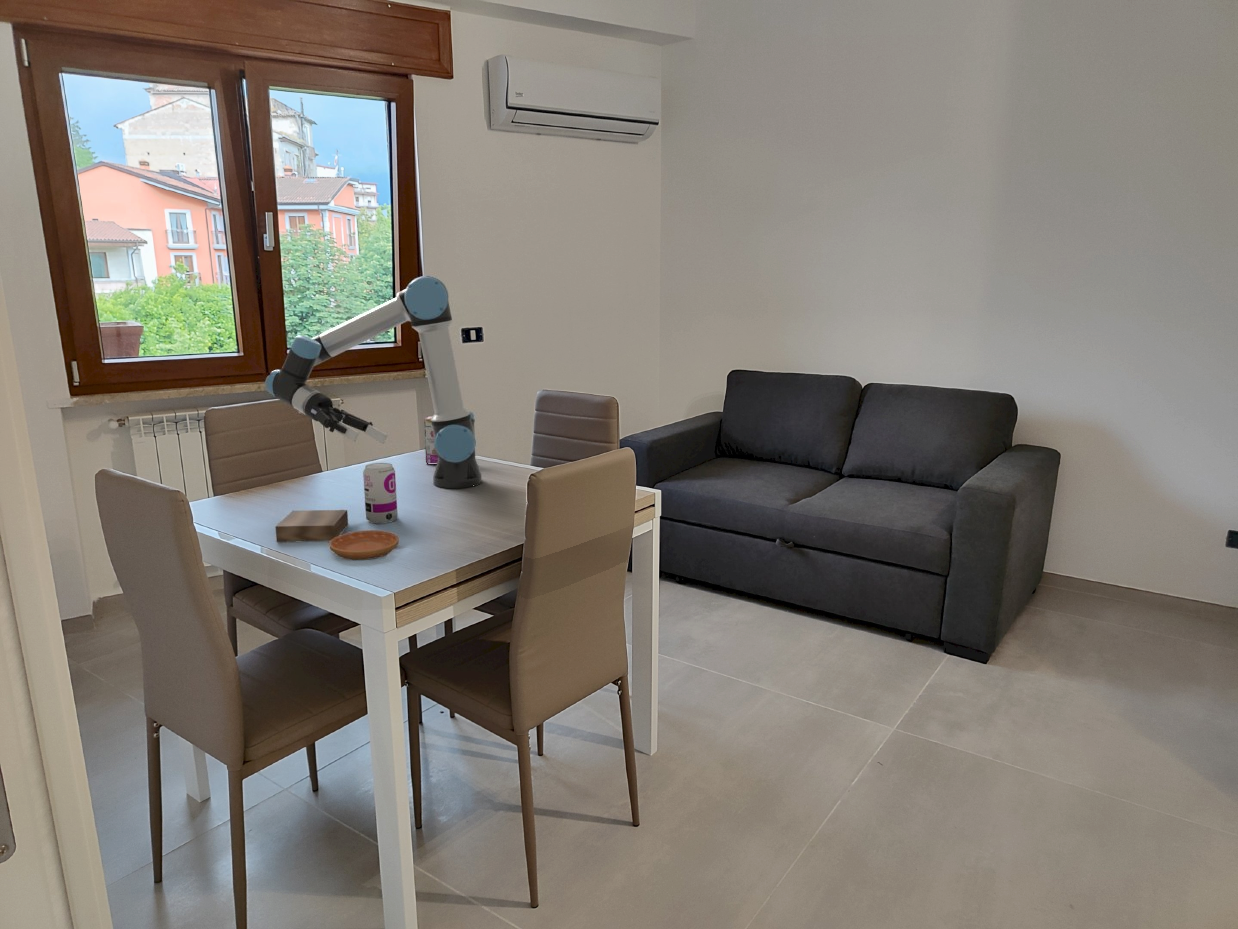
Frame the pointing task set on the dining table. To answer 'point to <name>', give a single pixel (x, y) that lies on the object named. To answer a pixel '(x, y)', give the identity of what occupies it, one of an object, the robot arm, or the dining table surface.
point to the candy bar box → (430, 442)
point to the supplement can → (380, 492)
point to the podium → (312, 525)
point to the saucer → (364, 544)
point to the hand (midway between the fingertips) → (371, 438)
